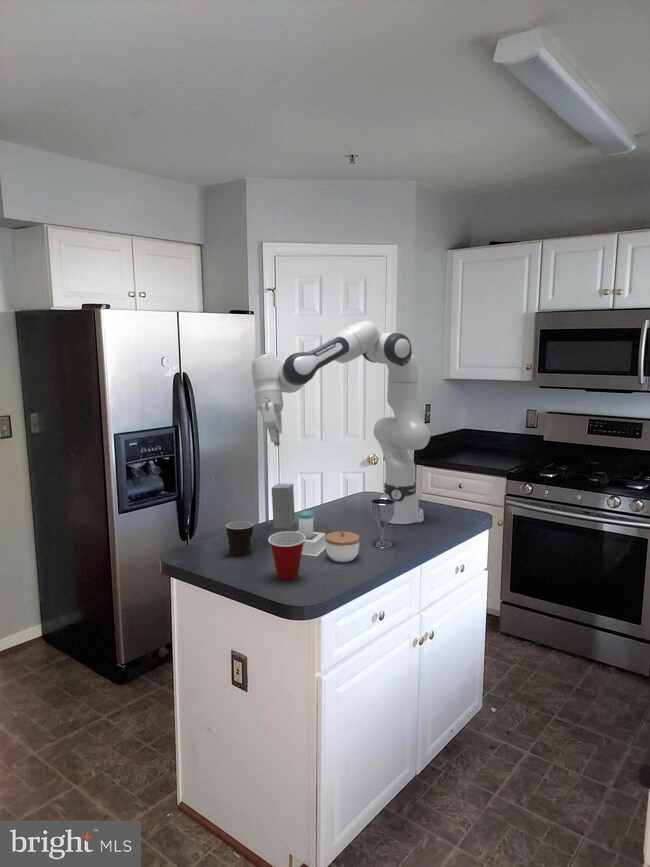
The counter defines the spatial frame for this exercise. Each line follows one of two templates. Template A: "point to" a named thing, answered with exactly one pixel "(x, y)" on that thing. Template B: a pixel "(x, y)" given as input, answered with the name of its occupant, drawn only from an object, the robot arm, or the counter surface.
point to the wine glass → (382, 516)
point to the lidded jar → (342, 546)
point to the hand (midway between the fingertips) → (275, 444)
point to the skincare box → (283, 506)
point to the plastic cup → (287, 553)
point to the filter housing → (314, 544)
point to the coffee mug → (240, 538)
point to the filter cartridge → (306, 523)
